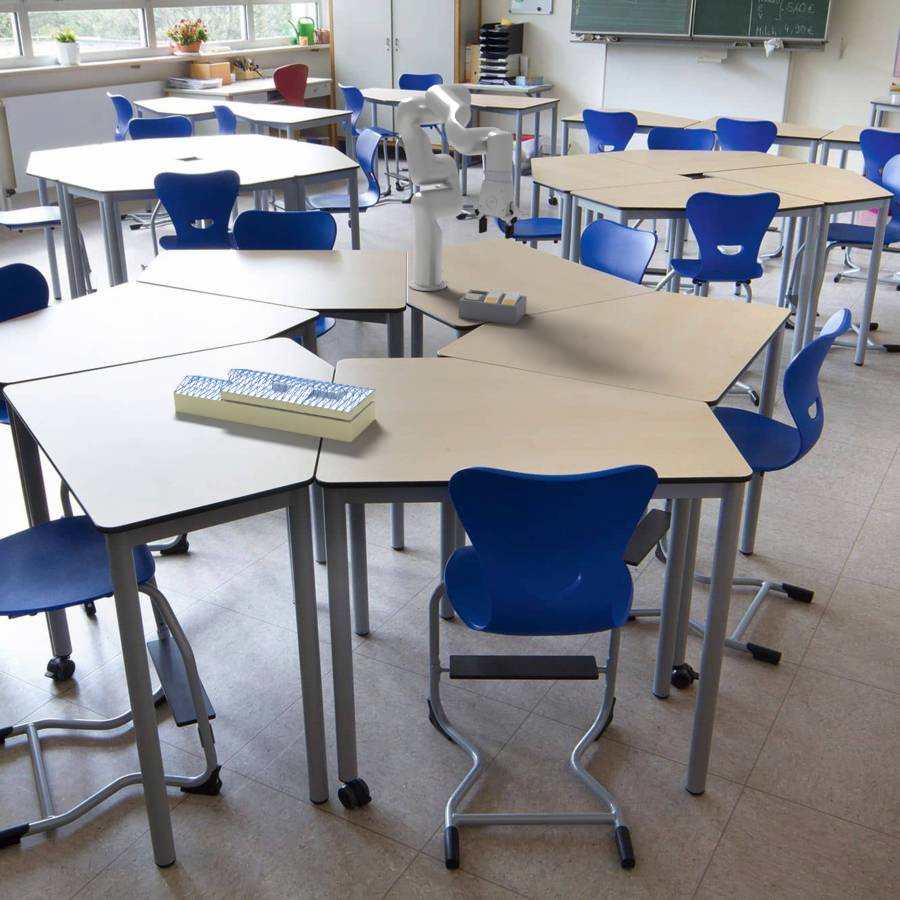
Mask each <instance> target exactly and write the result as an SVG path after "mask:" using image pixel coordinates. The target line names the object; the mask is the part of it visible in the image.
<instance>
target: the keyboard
mask: <svg viewBox="0 0 900 900" xmlns="http://www.w3.org/2000/svg"><path fill="white" fill-rule="evenodd" d="M236 373H237V374H236ZM235 375H236V376H235ZM227 376H229V377H228V379H226V380H225V379H219V378H214V377H208V376H201V375H198V376H197V377H195V375H192V376H191V378H190V376H189V375H186V376H184V377H183V379H182V381H181V382H180V384H178V386H177V387H176V389H175V390H174V391H173V399H174V400H173V401H174V408H175V409H174V410H175V412H176V413H183V414H188V415H193V416H194V415H195V416H200V417H205V418H212V419H217V420H223V421H228V422H234V423H239V424H246V425H251V426H257V427H262V428H268V429H273V430H279V431H285V432H291V433H295V434H301V435H302V434H303V435H308V436H313V437H318V438H325V439H331V440H334V441H335V440H336V441H341V442H347V443H352V442H353V441H354V440H355V439H356V438H357V437H358V436H359V435H360V434H361V433H362V432H363V431H365V430H366V428H367V427H369V426H370V424H372V422H374V421H375V420H376V400H375V399H376V390H377V389H376V388H374V389H370V388H368V387H367V388H365V387H364V388H363V386H359V387H358V386H356V385H349V384H343V383H336V382H331V381H323V380H317V379H311V378H304V377H297V376H291V375H285V374H278V373H272V372H266V371H259V370H253V369H248V368H230V370H229V371H228V373H227ZM187 378H188V379H189V380H188V382H187V383H186V379H187ZM182 384H183V385H182ZM180 386H181V387H180ZM178 388H179V389H178Z"/></svg>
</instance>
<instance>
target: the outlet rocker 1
mask: <svg viewBox="0 0 900 900" xmlns="http://www.w3.org/2000/svg"><path fill="white" fill-rule="evenodd" d="M467 293H468V292H467ZM465 294H466V293H465ZM484 296H485V295H482V294H474V293H473V294H472V293H468V294H466V299H470V300H478V301H479V300H481V299H482V298H483V297H484Z"/></svg>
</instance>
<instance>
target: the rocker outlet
mask: <svg viewBox="0 0 900 900" xmlns="http://www.w3.org/2000/svg"><path fill="white" fill-rule="evenodd" d="M505 294H506V295H505V297H504V299H503V301H502V303H501V304H505V305H515V304H516V303H517V302H518V301H519V299H520V295H521V293H520V292H514V291H507V292H506V293H505Z"/></svg>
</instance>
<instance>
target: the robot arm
mask: <svg viewBox="0 0 900 900" xmlns="http://www.w3.org/2000/svg"><path fill="white" fill-rule="evenodd" d="M471 104H472V95H471V92H470V90H469V88H468V87H467V86H466V85H464V84H461V83H442V84H441V83H440V84H434V85H432V86H430V87H429V88H427V90H426V91H425V94H424V95H418V96H410V97H407V98H404V99H402V100H401V101H399V103H398V105H397V107H396V112H395V119H396V125H397V129H398V132H399V135H400V137H401V139H402V142H403V146H404V149H405V150H404V151H405V156H406V161H407V166H408V167H407V168H408V172H409V177H410V179H411V182H412V183H413V185H415V186H417V187H429V186H437V185H439V187H440V188H433V189H431V188H430V189H425V190H420V191H418V192H416V193H414V195H412V197H411V200H410V209H411V210H410V211H411V215H412V223H413V279H411V280H409V281H408V287H409V288H410V289H413V290H417V291H423V292H434V291H435V292H436V291H440V290H444V289H446V287H447V284H448V283H447V282H446V281H445V280H444V279H443V274H444V271H443V251H444V250H443V241H444V240H443V237H444V236H443V230H442V228H441V226H440V225H439V223H438V222H437V221H438V220H442V219H449V218H451V219H452V218H455V217H458V216H460V214H461V213H462V212H463V209H464V197H463V193H462V186H461V180H460V175H459V170H458V166H457V162H456V161H455V160H454V158H453V157H452V156H451V155H449V154H447V153H438V154H437V153H436V154H435V153H434V152H433V148H432V143H431V139H430V137H429V135H428V134H427V133H426V132H425V129H423V128H422V127H421V125H436V124H437V125H438V124H444V125H445V127H444V131H445V137H446V139H447V142H448V144H449V145H450V146H452V147H453V149H454V150H455V151H457V152H458V153H459V154H461V155H463V156H476V155H477V156H480V155H485V156H486V158H485V159H486V160H485V169H484V170H483V172H482V173H483V175H485V178H484V179H482V182H481V188H480V192H479V199H478V200H475V201H474V202H472V206H473V210H474V214H475V215H476V216H477V220H478V233H479V234H483V233H487V232H488V218H487V216H488V217H492V218H498V219H503V220H504V221H505V223H506V225H505V231H504V233H505V234H504V235H505V236H504V239H506V240H509V239H513V237H514V233H515V225H516V224H517V222H518V221H520V218H521V216H522V214H523V210H521V208H519V207H518V206H517V205H516V204H515V189H514V187H515V186H514V182H513V181H512V177H513V173H512V172H513V158H514V157H513V156H514V134H513V133H512V132H510V131H507V130H501V128H498V127H495V126H486V127H485V126H483V127H482V126H481V127H469V128H467V125H469V123H470V121H471V117H472V111H471V108H470V107H471V106H472V105H471Z"/></svg>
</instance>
